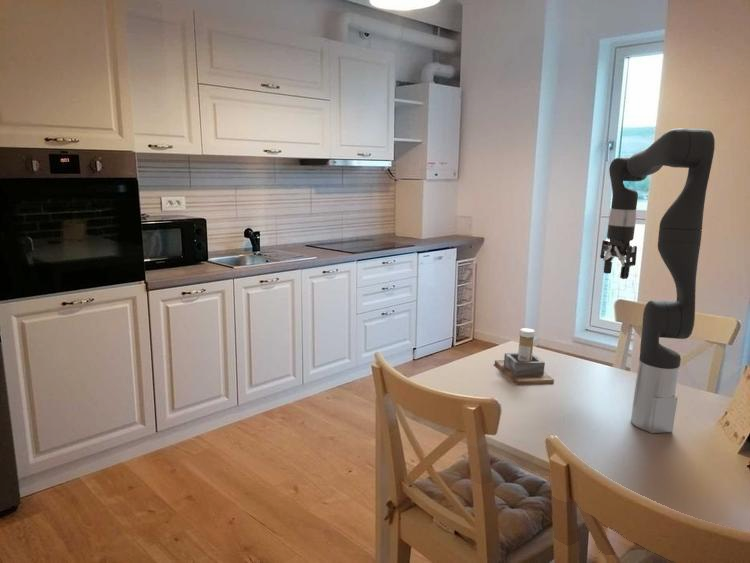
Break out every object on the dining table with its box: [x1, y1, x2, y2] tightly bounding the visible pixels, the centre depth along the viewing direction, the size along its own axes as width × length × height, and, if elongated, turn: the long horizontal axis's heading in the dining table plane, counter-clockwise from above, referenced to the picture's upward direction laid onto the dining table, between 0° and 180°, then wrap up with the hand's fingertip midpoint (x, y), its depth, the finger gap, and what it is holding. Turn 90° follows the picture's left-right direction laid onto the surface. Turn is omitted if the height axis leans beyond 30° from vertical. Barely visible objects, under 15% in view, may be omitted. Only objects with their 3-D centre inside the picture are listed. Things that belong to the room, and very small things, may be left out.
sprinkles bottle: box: [517, 327, 536, 362], centre depth 174 cm, size 5×5×14 cm
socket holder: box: [494, 352, 555, 386], centre depth 175 cm, size 18×12×5 cm, turn 10°
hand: (615, 275), depth 170 cm, fingers open, 8 cm apart
